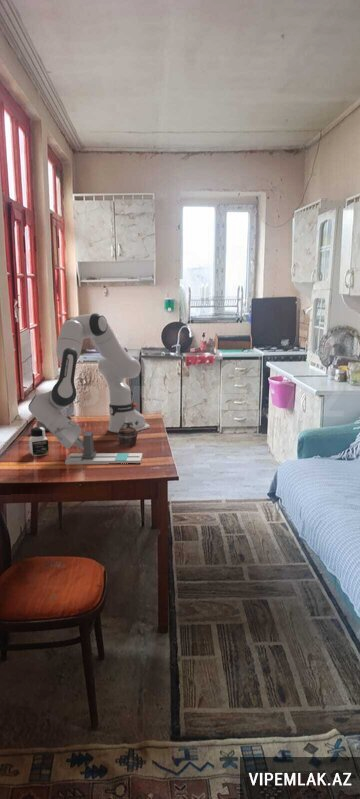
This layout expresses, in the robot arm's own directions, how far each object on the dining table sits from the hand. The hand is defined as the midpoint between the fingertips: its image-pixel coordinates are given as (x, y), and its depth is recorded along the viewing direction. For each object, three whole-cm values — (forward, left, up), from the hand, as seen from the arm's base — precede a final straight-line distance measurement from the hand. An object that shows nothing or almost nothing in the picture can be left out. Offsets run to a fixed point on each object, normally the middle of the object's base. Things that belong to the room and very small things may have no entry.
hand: (83, 447), depth 214 cm
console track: (-7, +5, -6) cm, 11 cm away
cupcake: (-28, -11, -6) cm, 31 cm away
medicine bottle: (+12, -22, -6) cm, 25 cm away
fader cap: (-2, +1, -4) cm, 4 cm away
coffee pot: (-12, -59, -6) cm, 60 cm away
